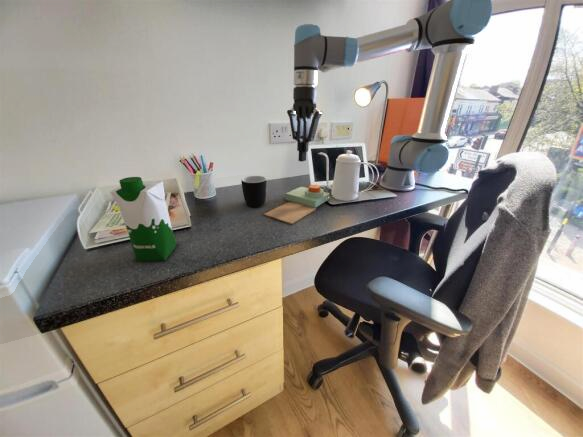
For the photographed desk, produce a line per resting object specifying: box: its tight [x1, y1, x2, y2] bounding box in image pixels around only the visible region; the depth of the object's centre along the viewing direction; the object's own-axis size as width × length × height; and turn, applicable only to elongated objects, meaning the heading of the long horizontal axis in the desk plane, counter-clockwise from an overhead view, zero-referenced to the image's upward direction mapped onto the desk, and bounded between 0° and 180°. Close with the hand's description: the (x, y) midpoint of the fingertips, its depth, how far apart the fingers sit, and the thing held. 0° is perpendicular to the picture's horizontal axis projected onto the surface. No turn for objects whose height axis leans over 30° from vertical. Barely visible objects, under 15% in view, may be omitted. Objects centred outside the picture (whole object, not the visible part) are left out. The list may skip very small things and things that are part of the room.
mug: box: [240, 175, 267, 209], centre depth 89 cm, size 12×9×10 cm
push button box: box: [284, 186, 331, 209], centre depth 94 cm, size 14×11×4 cm
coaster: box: [263, 200, 317, 225], centre depth 84 cm, size 12×15×1 cm
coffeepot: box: [317, 149, 380, 202], centre depth 94 cm, size 11×25×19 cm, turn 62°
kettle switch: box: [308, 184, 321, 193], centre depth 91 cm, size 4×4×2 cm
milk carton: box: [110, 176, 178, 262], centre depth 56 cm, size 9×9×20 cm
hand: (302, 160), depth 86 cm, fingers closed
